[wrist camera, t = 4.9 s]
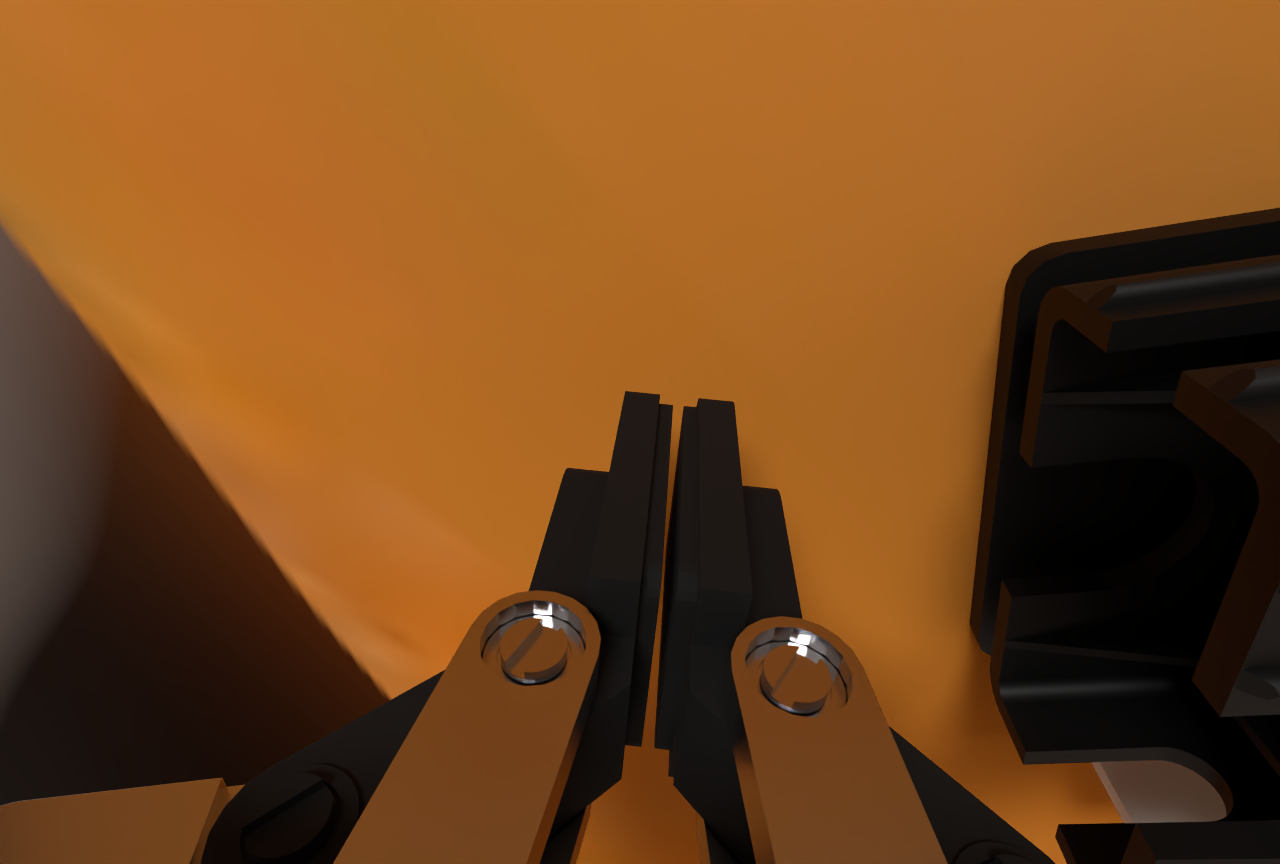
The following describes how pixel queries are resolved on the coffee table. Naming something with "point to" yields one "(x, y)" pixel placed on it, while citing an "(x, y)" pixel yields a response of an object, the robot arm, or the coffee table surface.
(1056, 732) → the end cap
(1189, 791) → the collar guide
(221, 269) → the coffee table surface
